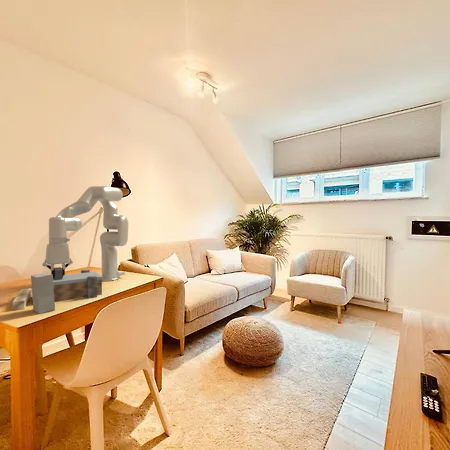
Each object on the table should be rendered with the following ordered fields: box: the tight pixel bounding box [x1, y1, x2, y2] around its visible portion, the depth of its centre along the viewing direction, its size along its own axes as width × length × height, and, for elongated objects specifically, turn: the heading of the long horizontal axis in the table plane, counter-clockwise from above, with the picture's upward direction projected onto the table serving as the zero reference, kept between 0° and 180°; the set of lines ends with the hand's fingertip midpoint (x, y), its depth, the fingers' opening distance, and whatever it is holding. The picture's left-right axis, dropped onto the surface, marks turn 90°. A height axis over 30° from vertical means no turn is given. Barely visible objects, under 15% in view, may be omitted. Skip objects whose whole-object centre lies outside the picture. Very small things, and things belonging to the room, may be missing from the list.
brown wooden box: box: [53, 269, 103, 302], centre depth 136 cm, size 26×23×10 cm
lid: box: [53, 266, 102, 285], centre depth 136 cm, size 26×16×8 cm, turn 127°
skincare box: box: [30, 272, 56, 314], centre depth 113 cm, size 8×7×16 cm
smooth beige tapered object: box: [12, 287, 32, 311], centre depth 124 cm, size 4×24×4 cm, turn 31°
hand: (58, 277), depth 132 cm, fingers closed on lid, 3 cm apart
